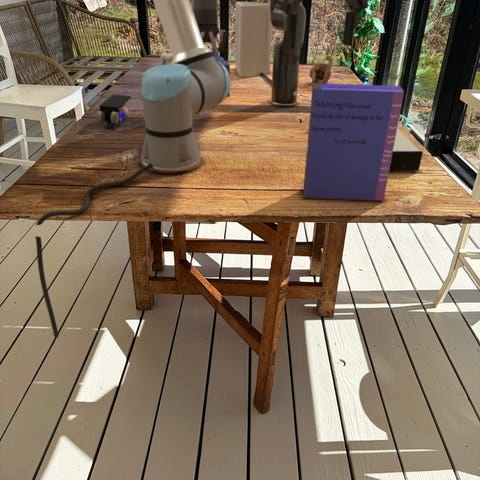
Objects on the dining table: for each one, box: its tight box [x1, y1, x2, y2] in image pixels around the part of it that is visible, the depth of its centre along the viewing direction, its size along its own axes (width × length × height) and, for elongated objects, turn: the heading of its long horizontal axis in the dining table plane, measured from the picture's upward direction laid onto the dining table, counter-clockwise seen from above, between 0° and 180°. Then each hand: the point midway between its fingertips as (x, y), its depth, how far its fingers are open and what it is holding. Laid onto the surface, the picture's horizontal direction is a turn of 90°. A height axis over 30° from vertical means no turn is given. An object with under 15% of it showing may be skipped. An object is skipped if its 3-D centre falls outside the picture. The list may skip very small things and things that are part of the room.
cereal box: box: [302, 83, 405, 202], centre depth 102 cm, size 17×5×24 cm, turn 86°
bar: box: [208, 47, 231, 98], centre depth 145 cm, size 26×5×9 cm, turn 14°
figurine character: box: [95, 94, 132, 130], centre depth 148 cm, size 7×8×15 cm
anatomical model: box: [309, 55, 334, 84], centre depth 196 cm, size 13×9×15 cm
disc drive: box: [389, 127, 424, 172], centre depth 128 cm, size 18×22×5 cm
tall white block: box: [234, 1, 273, 78], centre depth 210 cm, size 19×15×28 cm
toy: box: [159, 51, 173, 65], centre depth 223 cm, size 24×25×7 cm
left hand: (319, 46), depth 103 cm, fingers open, 13 cm apart
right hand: (206, 65), depth 154 cm, fingers closed on bar, 4 cm apart
